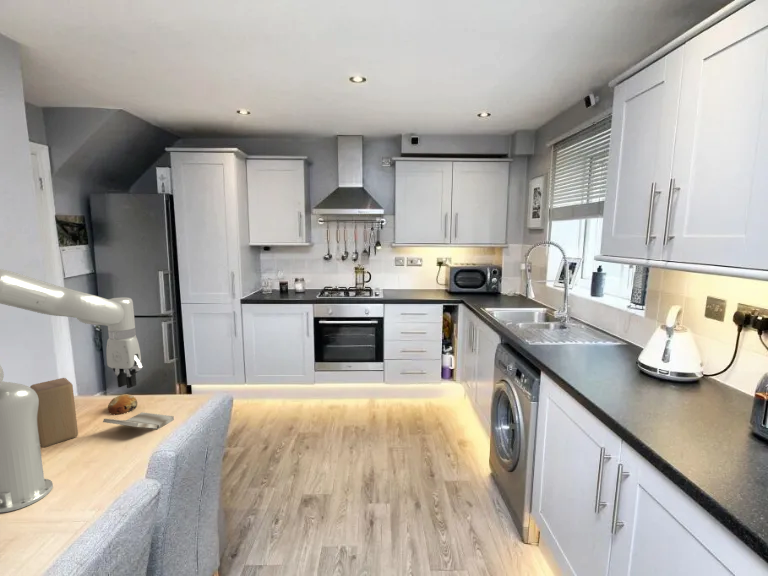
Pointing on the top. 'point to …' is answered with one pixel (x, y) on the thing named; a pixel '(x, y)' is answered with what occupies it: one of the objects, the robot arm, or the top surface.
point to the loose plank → (130, 423)
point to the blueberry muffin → (122, 404)
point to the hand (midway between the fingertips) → (127, 385)
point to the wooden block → (55, 411)
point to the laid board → (152, 419)
